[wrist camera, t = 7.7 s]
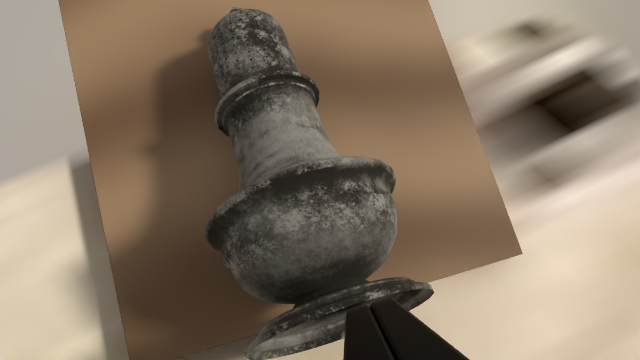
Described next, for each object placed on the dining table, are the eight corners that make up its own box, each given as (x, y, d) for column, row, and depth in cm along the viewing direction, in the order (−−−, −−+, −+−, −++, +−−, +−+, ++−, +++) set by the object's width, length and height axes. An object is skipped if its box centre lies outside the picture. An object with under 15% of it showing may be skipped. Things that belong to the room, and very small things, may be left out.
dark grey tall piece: (228, 341, 10) (133, -52, 15) (239, 374, 15) (166, 74, 20) (478, 262, 12) (317, -75, 16) (411, 317, 17) (304, 48, 22)
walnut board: (511, 255, 19) (522, 254, 18) (141, 367, 17) (132, 371, 16) (382, -95, 22) (386, -113, 21) (61, -25, 21) (50, -41, 20)
